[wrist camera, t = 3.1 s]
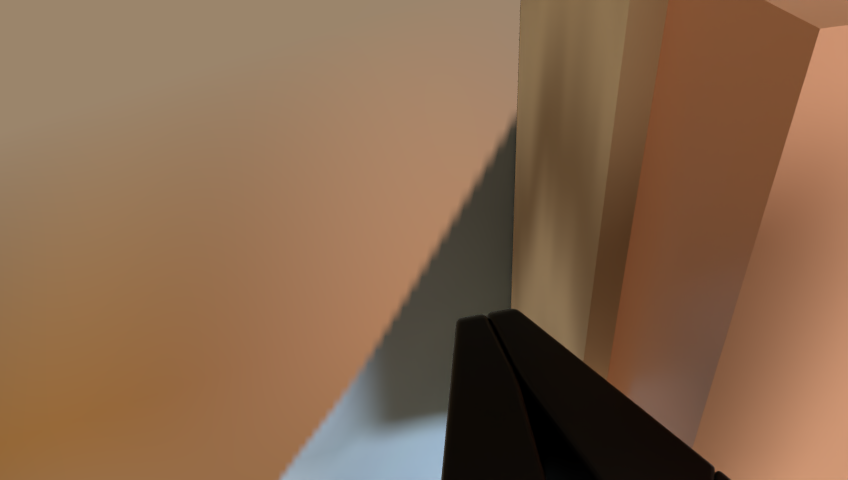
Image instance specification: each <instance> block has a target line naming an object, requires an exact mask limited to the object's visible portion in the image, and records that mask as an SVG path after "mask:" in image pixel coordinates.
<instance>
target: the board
mask: <svg viewBox="0 0 848 480" xmlns="http://www.w3.org/2000/svg"><path fill="white" fill-rule="evenodd" d="M668 1H669V0H521V7H520V38H519V70H518V101H517V133H516V165H515V196H514V228H513V260H512V292H511V309H517V310H519V311H520V312H522V313H523V314H524V315H525V316H527V317H528V318H529V319H530V320H532V321H533V322H534V323H535V324H537V325H538V326H539V327H540V328H542V329H543V330H544V331H545V332H547V333H548V334H549V335H550V336H552V337H553V338H554V339H555V340H557V341H558V342H559V343H560V344H562V345H563V346H564V347H565V348H567V349H568V350H569V351H570V352H572V353H573V354H574V355H575V356H577V357H578V358H579V359H580V360H582V361H583V362H584V363H585V364H587V365H588V366H589V367H590V368H592V369H593V370H594V371H595V372H597V373H598V374H599V375H601V376H602V377H603V378H604V379H606V380H607V376H608V370H609V363H610V357H611V351H612V345H613V339H614V333H615V326H616V320H617V314H618V308H619V302H620V296H621V290H622V283H623V277H624V271H625V265H626V259H627V253H628V247H629V240H630V234H631V228H632V222H633V216H634V210H635V204H636V197H637V191H638V185H639V179H640V173H641V167H642V161H643V154H644V148H645V142H646V136H647V130H648V124H649V118H650V111H651V105H652V99H653V93H654V87H655V81H656V74H657V68H658V62H659V56H660V50H661V44H662V38H663V31H664V25H665V19H666V13H667V7H668Z"/></svg>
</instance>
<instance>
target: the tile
mask: <svg viewBox="0 0 848 480" xmlns="http://www.w3.org/2000/svg"><path fill="white" fill-rule="evenodd" d="M607 381H608V382H609V383H611V384H612V385H613V386H614V387H616V388H617V389H618V390H619V391H621V392H622V393H623V394H624V395H626V396H627V397H628V398H629V399H631V400H632V401H633V402H634V403H636V404H637V405H638V406H639V407H641V408H642V409H643V410H644V411H646V412H647V413H648V414H649V415H651V416H652V417H653V418H654V419H656V420H657V421H658V422H659V423H661V424H662V425H663V426H664V427H666V428H667V429H668V430H669V431H671V432H672V433H673V434H674V435H676V436H677V437H678V438H679V439H681V440H682V441H683V442H684V443H686V444H687V445H688V446H689V447H691V448H692V449H693V450H694V451H696V452H697V453H698V454H699V455H701V456H702V457H703V458H704V459H706V460H707V461H708V462H709V463H711V464H712V465H713V466H714V467H715V472H716V471H721V472H722V473H724V474H725V475H726V476H727V477H729V478H730V479H731V480H848V0H669V1H668V7H667V13H666V19H665V25H664V31H663V38H662V44H661V50H660V56H659V62H658V68H657V74H656V81H655V87H654V93H653V99H652V105H651V111H650V118H649V124H648V130H647V136H646V142H645V148H644V154H643V161H642V167H641V173H640V179H639V185H638V191H637V197H636V204H635V210H634V216H633V222H632V228H631V234H630V240H629V247H628V253H627V259H626V265H625V271H624V277H623V283H622V290H621V296H620V302H619V308H618V314H617V320H616V326H615V333H614V339H613V345H612V351H611V357H610V363H609V370H608V376H607Z"/></svg>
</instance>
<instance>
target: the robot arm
mask: <svg viewBox="0 0 848 480" xmlns="http://www.w3.org/2000/svg"><path fill="white" fill-rule="evenodd" d="M441 480H731V479H730V478H729V477H727V476H726V475H725V474H724V473H722V472H721V471H716V472H715V467H714V466H713V465H712V464H711V463H709V462H708V461H707V460H706V459H704V458H703V457H702V456H701V455H699V454H698V453H697V452H696V451H694V450H693V449H692V448H691V447H689V446H688V445H687V444H686V443H684V442H683V441H682V440H681V439H679V438H678V437H677V436H676V435H674V434H673V433H672V432H671V431H669V430H668V429H667V428H666V427H664V426H663V425H662V424H661V423H659V422H658V421H657V420H656V419H654V418H653V417H652V416H651V415H649V414H648V413H647V412H646V411H644V410H643V409H642V408H641V407H639V406H638V405H637V404H636V403H634V402H633V401H632V400H631V399H629V398H628V397H627V396H626V395H624V394H623V393H622V392H621V391H619V390H618V389H617V388H616V387H614V386H613V385H612V384H611V383H609V382H608V381H607V380H606V379H604V378H603V377H602V376H601V375H599V374H598V373H597V372H595V371H594V370H593V369H592V368H590V367H589V366H588V365H587V364H585V363H584V362H583V361H582V360H580V359H579V358H578V357H577V356H575V355H574V354H573V353H572V352H570V351H569V350H568V349H567V348H565V347H564V346H563V345H562V344H560V343H559V342H558V341H557V340H555V339H554V338H553V337H552V336H550V335H549V334H548V333H547V332H545V331H544V330H543V329H542V328H540V327H539V326H538V325H537V324H535V323H534V322H533V321H532V320H530V319H529V318H528V317H527V316H525V315H524V314H523V313H522V312H520V311H519V310H517V309H507V310H502V311H496V312H491V313H490V314H488V315H487V317H486V316H485V315H483V314H480V315H475V316H470V317H465V318H460V319H459V320H458V321H457V323H456V332H455V342H454V353H453V363H452V374H451V384H450V394H449V405H448V415H447V425H446V436H445V446H444V456H443V467H442V477H441Z"/></svg>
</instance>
